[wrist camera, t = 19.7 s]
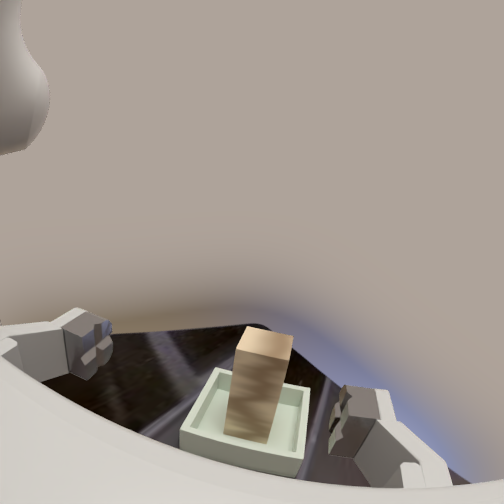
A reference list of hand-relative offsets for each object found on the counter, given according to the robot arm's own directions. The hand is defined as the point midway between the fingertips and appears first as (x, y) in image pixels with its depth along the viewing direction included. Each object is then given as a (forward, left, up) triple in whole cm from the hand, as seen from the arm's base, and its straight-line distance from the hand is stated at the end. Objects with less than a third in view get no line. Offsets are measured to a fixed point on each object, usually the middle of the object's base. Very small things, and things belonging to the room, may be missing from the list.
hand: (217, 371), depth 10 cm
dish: (0, +20, -22) cm, 29 cm away
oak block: (0, +20, -22) cm, 29 cm away
